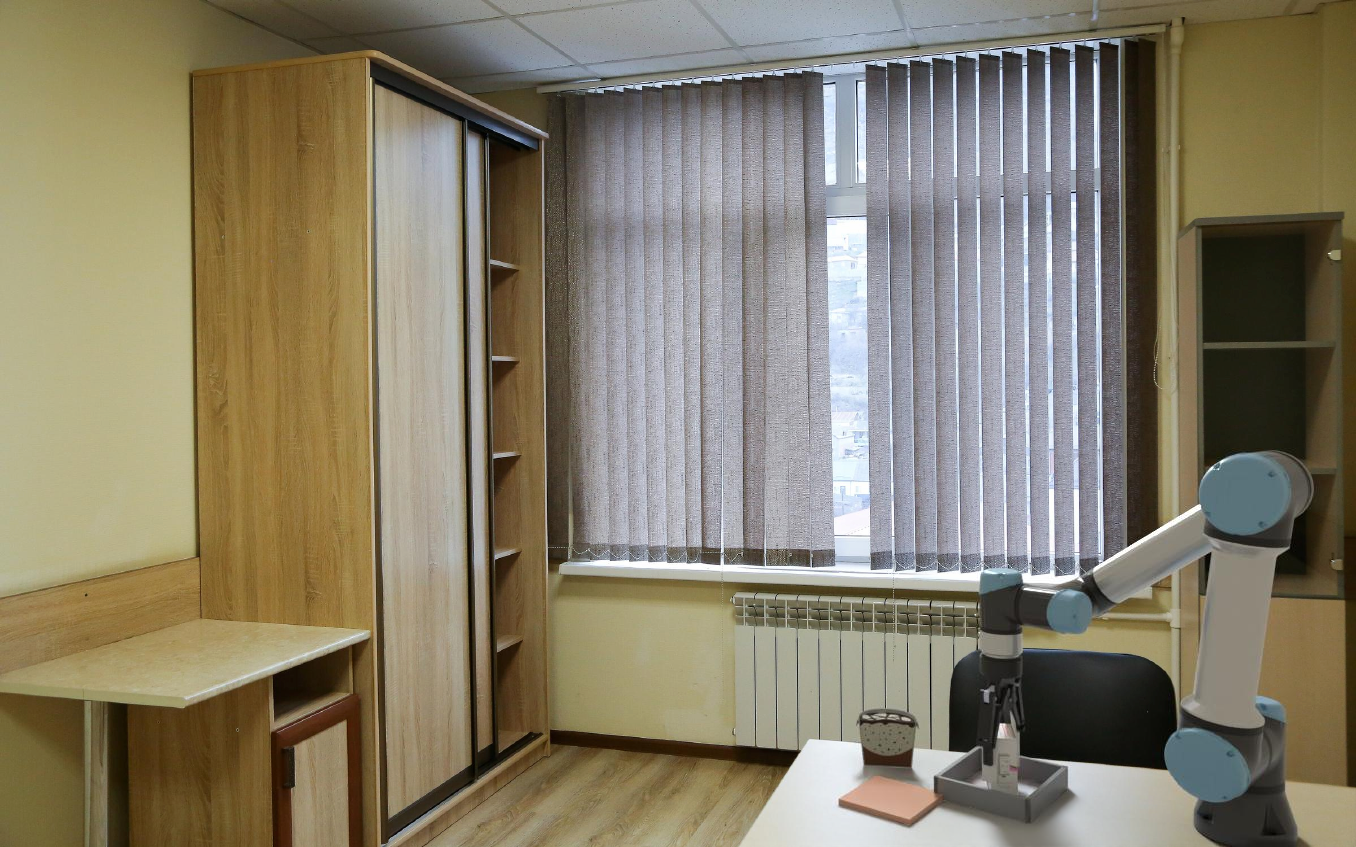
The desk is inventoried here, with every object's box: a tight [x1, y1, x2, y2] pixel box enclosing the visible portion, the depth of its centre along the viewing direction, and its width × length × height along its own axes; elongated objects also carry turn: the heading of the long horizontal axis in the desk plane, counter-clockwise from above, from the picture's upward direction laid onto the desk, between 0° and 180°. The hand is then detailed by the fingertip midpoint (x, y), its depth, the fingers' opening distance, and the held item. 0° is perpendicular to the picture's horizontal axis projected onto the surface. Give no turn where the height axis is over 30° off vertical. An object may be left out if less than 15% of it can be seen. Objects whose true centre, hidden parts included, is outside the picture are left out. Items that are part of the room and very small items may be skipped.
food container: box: [855, 707, 920, 769], centre depth 198 cm, size 12×6×10 cm, turn 80°
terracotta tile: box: [838, 774, 944, 826], centre depth 179 cm, size 14×14×1 cm
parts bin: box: [933, 745, 1069, 824], centre depth 182 cm, size 18×20×4 cm
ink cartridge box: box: [986, 710, 1019, 796], centre depth 182 cm, size 9×5×15 cm, turn 168°
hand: (1001, 772), depth 182 cm, fingers closed on ink cartridge box, 10 cm apart
